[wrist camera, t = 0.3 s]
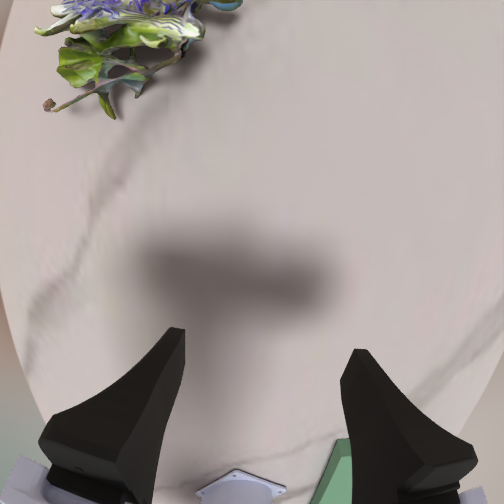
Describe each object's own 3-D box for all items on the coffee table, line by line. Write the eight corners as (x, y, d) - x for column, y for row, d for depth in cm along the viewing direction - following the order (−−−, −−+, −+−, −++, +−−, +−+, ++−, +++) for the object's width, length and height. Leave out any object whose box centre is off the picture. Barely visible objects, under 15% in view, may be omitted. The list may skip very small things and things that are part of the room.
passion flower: (185, 29, 22) (268, -40, 13) (160, 141, 24) (240, 110, 14) (65, 3, 16) (91, -95, 6) (24, 124, 17) (-2, 66, 8)
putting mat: (371, 515, 36) (374, 526, 33) (301, 522, 36) (301, 534, 33) (432, 427, 28) (439, 442, 26) (337, 439, 29) (341, 456, 26)
